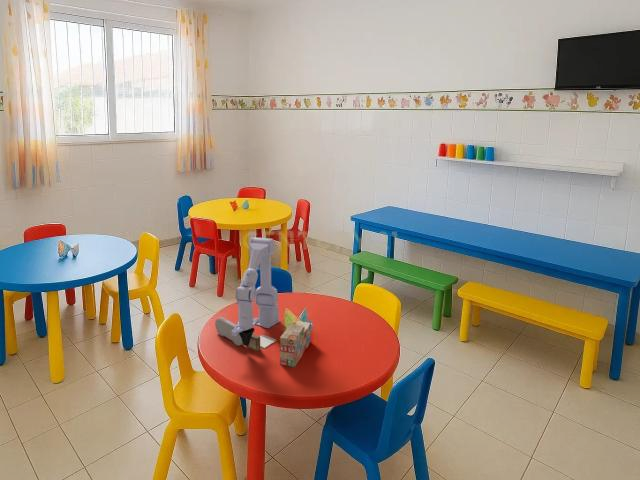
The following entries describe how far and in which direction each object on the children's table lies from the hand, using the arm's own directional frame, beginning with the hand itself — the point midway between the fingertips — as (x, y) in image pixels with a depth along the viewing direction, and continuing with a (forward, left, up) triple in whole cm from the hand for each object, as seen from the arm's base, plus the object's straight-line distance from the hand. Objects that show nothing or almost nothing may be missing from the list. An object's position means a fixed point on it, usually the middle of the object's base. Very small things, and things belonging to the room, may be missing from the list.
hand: (246, 344), depth 189 cm
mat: (-11, 0, -4) cm, 11 cm away
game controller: (-4, -13, -4) cm, 14 cm away
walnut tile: (-4, 0, -4) cm, 6 cm away
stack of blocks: (-12, +17, -4) cm, 21 cm away
